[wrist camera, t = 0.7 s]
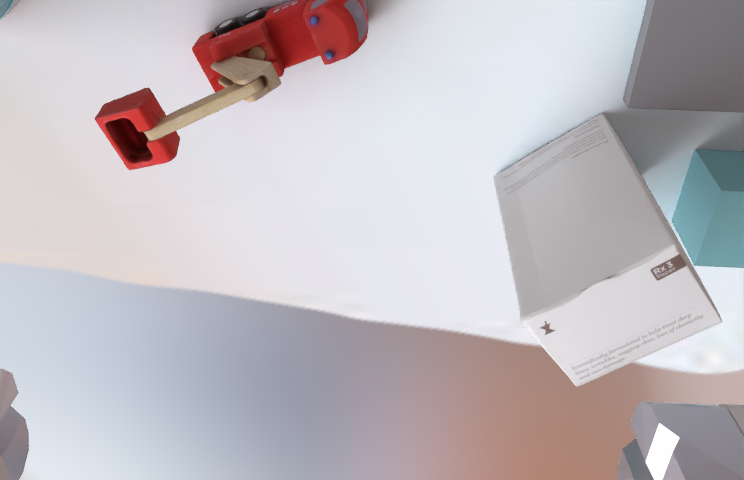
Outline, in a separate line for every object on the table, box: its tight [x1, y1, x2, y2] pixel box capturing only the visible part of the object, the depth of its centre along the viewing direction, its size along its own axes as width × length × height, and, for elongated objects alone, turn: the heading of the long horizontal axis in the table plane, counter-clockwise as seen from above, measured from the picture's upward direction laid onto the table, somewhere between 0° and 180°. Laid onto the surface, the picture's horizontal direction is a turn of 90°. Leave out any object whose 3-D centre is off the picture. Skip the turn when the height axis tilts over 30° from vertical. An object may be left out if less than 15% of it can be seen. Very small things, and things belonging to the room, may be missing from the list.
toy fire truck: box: [95, 0, 368, 170], centre depth 38 cm, size 3×14×10 cm, turn 112°
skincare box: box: [494, 113, 722, 386], centre depth 40 cm, size 8×6×15 cm
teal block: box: [672, 149, 744, 268], centre depth 45 cm, size 6×6×5 cm
